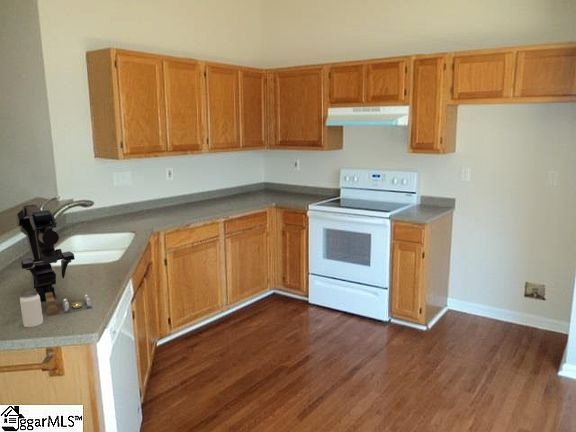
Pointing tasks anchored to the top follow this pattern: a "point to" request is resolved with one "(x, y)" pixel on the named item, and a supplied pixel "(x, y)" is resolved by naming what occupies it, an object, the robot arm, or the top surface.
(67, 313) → the mat
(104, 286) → the top surface
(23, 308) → the can
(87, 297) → the pair of rounded blocks
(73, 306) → the yellow-brown curved piece
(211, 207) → the top surface
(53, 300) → the brown rectangular block
